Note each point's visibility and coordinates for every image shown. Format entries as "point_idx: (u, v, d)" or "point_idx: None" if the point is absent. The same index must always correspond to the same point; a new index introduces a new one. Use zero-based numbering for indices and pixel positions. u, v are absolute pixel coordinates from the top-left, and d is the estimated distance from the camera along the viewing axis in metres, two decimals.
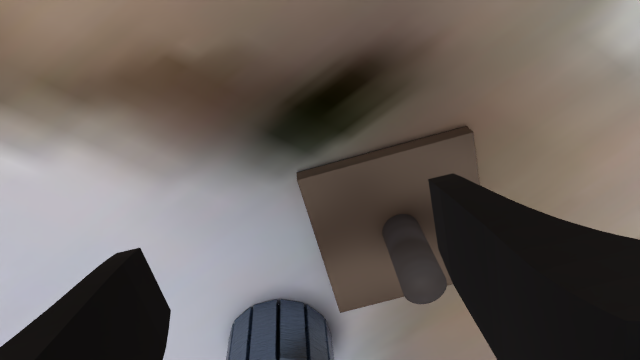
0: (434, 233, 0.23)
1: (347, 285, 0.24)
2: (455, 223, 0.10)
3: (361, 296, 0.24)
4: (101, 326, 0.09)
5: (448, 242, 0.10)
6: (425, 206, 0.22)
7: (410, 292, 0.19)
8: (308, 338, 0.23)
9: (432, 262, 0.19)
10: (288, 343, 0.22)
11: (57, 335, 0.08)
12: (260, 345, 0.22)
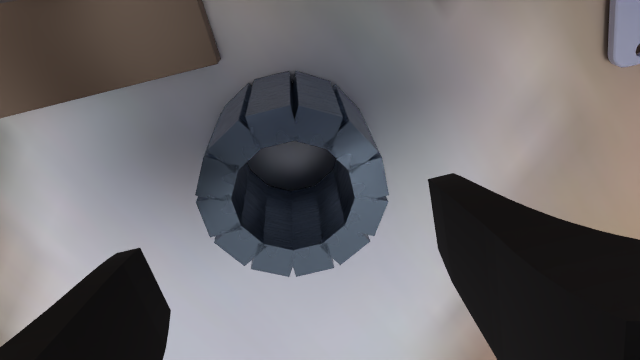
0: None
1: (160, 51, 0.15)
2: (455, 223, 0.10)
3: (183, 28, 0.15)
4: (101, 326, 0.09)
5: (448, 242, 0.10)
6: None
7: None
8: (215, 131, 0.14)
9: None
10: None
11: (57, 335, 0.08)
12: None
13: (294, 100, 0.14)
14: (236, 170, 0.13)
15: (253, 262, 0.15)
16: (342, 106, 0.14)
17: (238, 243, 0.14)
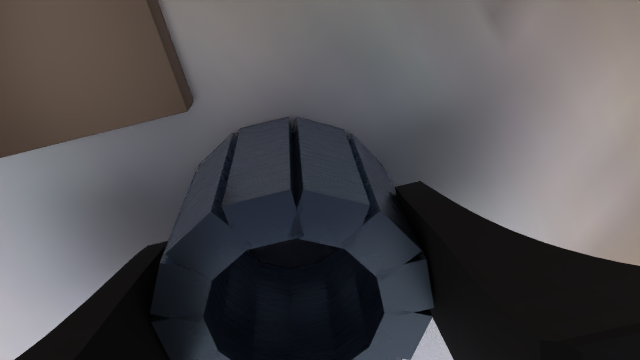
0: None
1: (105, 95, 0.10)
2: (417, 232, 0.10)
3: (136, 63, 0.10)
4: (140, 317, 0.09)
5: None
6: None
7: None
8: (183, 212, 0.10)
9: None
10: None
11: (101, 325, 0.08)
12: None
13: (296, 169, 0.10)
14: (210, 280, 0.09)
15: None
16: (365, 176, 0.10)
17: None
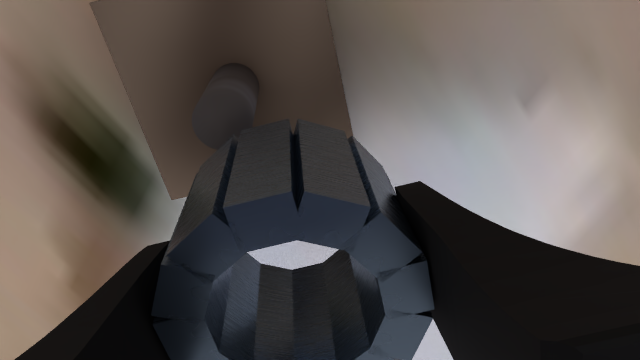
0: (240, 41, 0.17)
1: None
2: (417, 232, 0.10)
3: None
4: (139, 317, 0.09)
5: None
6: (199, 57, 0.17)
7: None
8: (184, 213, 0.10)
9: None
10: None
11: (101, 325, 0.08)
12: None
13: (296, 171, 0.10)
14: (211, 281, 0.09)
15: None
16: (365, 178, 0.10)
17: None
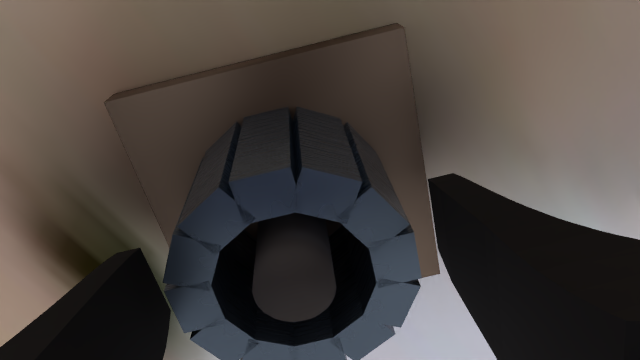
0: None
1: None
2: (455, 223, 0.10)
3: None
4: (101, 326, 0.09)
5: (448, 242, 0.10)
6: None
7: (307, 308, 0.10)
8: (192, 192, 0.11)
9: (256, 262, 0.10)
10: None
11: (57, 335, 0.08)
12: None
13: (295, 152, 0.11)
14: (217, 251, 0.10)
15: None
16: (358, 158, 0.11)
17: (222, 339, 0.11)
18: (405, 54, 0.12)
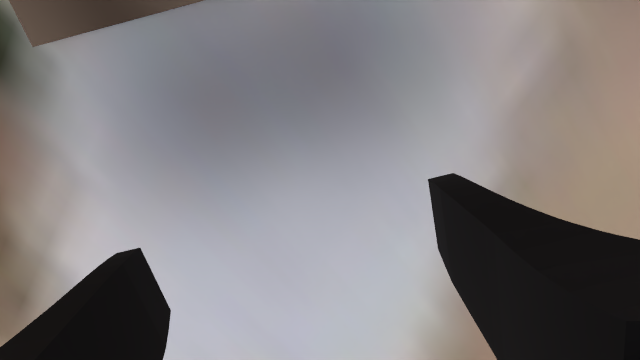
0: None
1: None
2: (455, 223, 0.10)
3: None
4: (101, 326, 0.09)
5: (448, 242, 0.10)
6: None
7: None
8: None
9: None
10: None
11: (57, 335, 0.08)
12: None
13: None
14: None
15: None
16: None
17: None
18: None
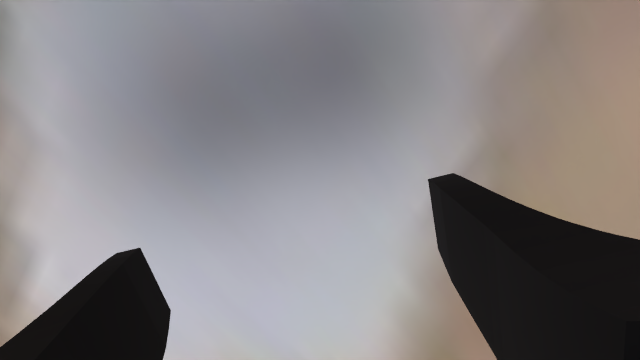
0: None
1: None
2: (455, 223, 0.10)
3: None
4: (101, 326, 0.09)
5: (448, 242, 0.10)
6: None
7: None
8: None
9: None
10: None
11: (57, 335, 0.08)
12: None
13: None
14: None
15: None
16: None
17: None
18: None
